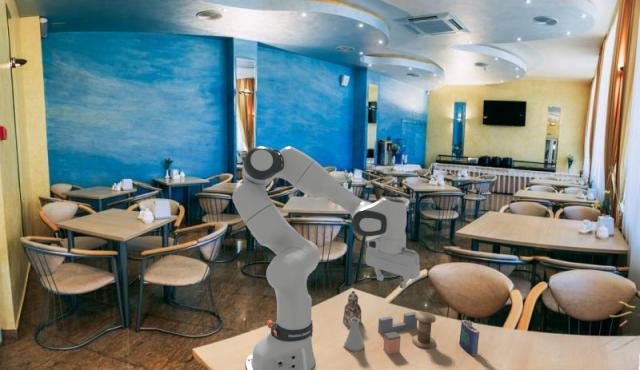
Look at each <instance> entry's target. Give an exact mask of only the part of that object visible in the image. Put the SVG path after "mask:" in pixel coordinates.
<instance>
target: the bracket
mask: <svg viewBox="0 0 640 370" xmlns="http://www.w3.org/2000/svg"><path fill="white" fill-rule="evenodd" d="M416 313H417V312H416V311H413V312H412V311H411V312H408V313H403V321H402V322H398V323H393V322H394V317H392V316H391V315H390V316H384V317H379V318H378V327H377V329H378V330H377V332H378V334H379V335H384V334H386V333H391V332H399V331H403V330H410V329H414V328H415V329H416V328H418V320H416V318H415V315H416Z"/></svg>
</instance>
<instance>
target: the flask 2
mask: <svg viewBox="0 0 640 370" xmlns="http://www.w3.org/2000/svg"><path fill="white" fill-rule="evenodd" d="M460 323H461V325H460V334H459V343H458V345H459V347H461V348H462V349H463V350H464V351H465V352H466V353H467V354H469V355H470V356H472V357H478V349H479V340H480V339H479V338H480V331H479V329H477V328H475V327H474V325H473V323H474V322H473V321H471V320H466V319H463V320H462V319H461V322H460Z"/></svg>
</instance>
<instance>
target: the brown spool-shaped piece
mask: <svg viewBox="0 0 640 370" xmlns="http://www.w3.org/2000/svg"><path fill="white" fill-rule="evenodd" d="M415 318H416V320H417V322H418V325H417V328H418V329H417V334H416V335H414V336H412V340H411V343H412V344H413V345H414V346H416V347H418V348H421V349H432V348H434V347H435V346H436V340H435V339H434V337H432V334H431V333H432V324H433V323H435V322H436V318H437V317H436V316H435V315H434V313H431V312H427V311H418V312H416V315H415Z"/></svg>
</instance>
